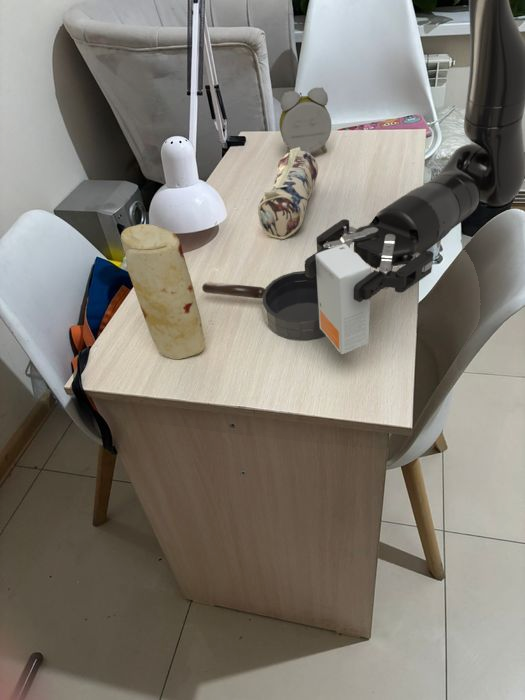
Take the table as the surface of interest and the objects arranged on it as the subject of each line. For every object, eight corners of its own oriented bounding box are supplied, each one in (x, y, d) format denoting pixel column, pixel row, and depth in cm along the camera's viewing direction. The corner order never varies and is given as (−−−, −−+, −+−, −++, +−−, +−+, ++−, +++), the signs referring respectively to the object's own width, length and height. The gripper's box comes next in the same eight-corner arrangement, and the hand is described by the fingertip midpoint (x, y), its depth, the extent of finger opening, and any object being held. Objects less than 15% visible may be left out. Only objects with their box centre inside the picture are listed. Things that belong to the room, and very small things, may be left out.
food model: (217, 341, 78) (191, 225, 64) (192, 370, 74) (158, 252, 60) (167, 325, 82) (132, 212, 68) (140, 351, 78) (98, 237, 64)
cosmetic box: (318, 329, 68) (313, 252, 60) (346, 318, 69) (345, 241, 61) (340, 356, 64) (338, 278, 56) (370, 345, 65) (372, 266, 57)
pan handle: (268, 294, 81) (266, 285, 80) (264, 301, 80) (263, 292, 79) (205, 288, 84) (203, 279, 83) (201, 294, 83) (199, 285, 82)
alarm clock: (328, 148, 125) (327, 82, 115) (333, 160, 120) (333, 91, 110) (281, 155, 125) (276, 89, 115) (284, 166, 120) (279, 99, 110)
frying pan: (352, 292, 83) (352, 274, 81) (337, 345, 74) (337, 327, 72) (276, 285, 87) (274, 267, 84) (254, 335, 78) (251, 317, 76)
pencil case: (303, 241, 96) (300, 193, 89) (259, 240, 98) (253, 192, 91) (319, 187, 111) (318, 142, 104) (281, 187, 113) (277, 142, 106)
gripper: (372, 181, 68) (283, 234, 60) (471, 211, 59) (383, 278, 52) (370, 231, 73) (288, 285, 66) (461, 265, 64) (379, 333, 57)
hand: (330, 282), depth 59 cm, fingers closed on cosmetic box, 7 cm apart
